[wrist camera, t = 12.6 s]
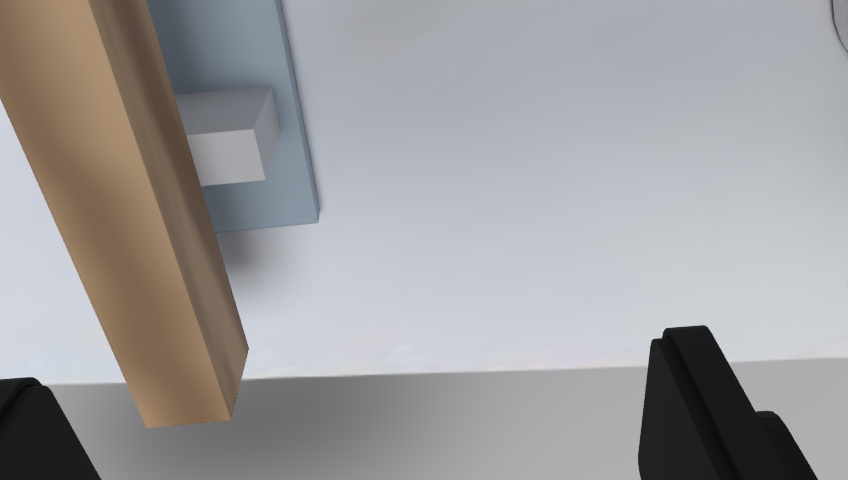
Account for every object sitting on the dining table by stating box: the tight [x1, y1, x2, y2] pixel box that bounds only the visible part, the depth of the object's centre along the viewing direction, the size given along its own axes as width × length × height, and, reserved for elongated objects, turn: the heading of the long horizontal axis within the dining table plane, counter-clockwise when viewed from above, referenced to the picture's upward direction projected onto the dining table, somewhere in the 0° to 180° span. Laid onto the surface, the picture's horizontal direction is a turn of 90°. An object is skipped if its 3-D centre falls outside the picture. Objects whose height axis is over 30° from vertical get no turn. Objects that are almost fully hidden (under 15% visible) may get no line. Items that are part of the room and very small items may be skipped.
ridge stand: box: [146, 0, 320, 233], centre depth 33 cm, size 12×14×7 cm
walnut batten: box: [0, 0, 249, 428], centre depth 28 cm, size 4×22×5 cm, turn 5°
